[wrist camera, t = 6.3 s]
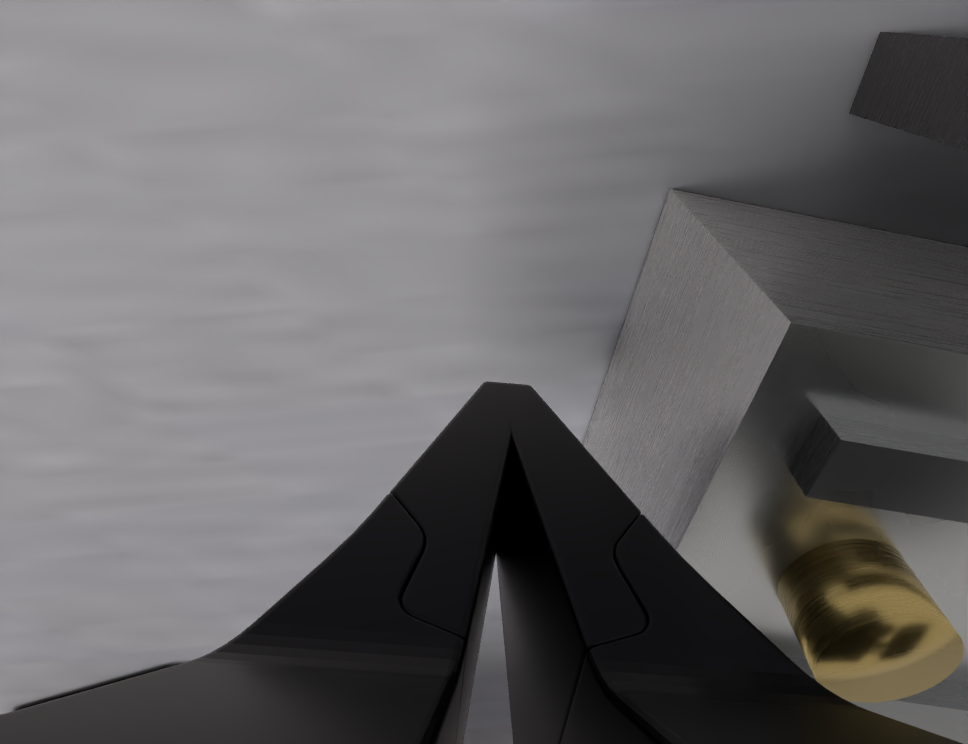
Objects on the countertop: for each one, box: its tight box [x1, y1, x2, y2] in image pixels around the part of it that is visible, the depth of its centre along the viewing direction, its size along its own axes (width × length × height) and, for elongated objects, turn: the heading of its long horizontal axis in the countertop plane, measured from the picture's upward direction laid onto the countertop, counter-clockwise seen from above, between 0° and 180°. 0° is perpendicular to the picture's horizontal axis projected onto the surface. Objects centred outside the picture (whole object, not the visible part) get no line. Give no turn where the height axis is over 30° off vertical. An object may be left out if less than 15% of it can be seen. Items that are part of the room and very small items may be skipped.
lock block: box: [583, 189, 968, 744], centre depth 9 cm, size 7×6×6 cm
